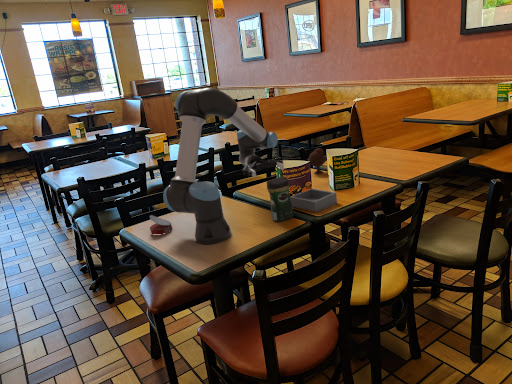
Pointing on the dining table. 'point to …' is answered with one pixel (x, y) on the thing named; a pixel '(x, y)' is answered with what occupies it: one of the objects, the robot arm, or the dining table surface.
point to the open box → (314, 200)
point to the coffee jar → (280, 199)
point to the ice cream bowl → (317, 159)
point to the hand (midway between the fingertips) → (269, 170)
